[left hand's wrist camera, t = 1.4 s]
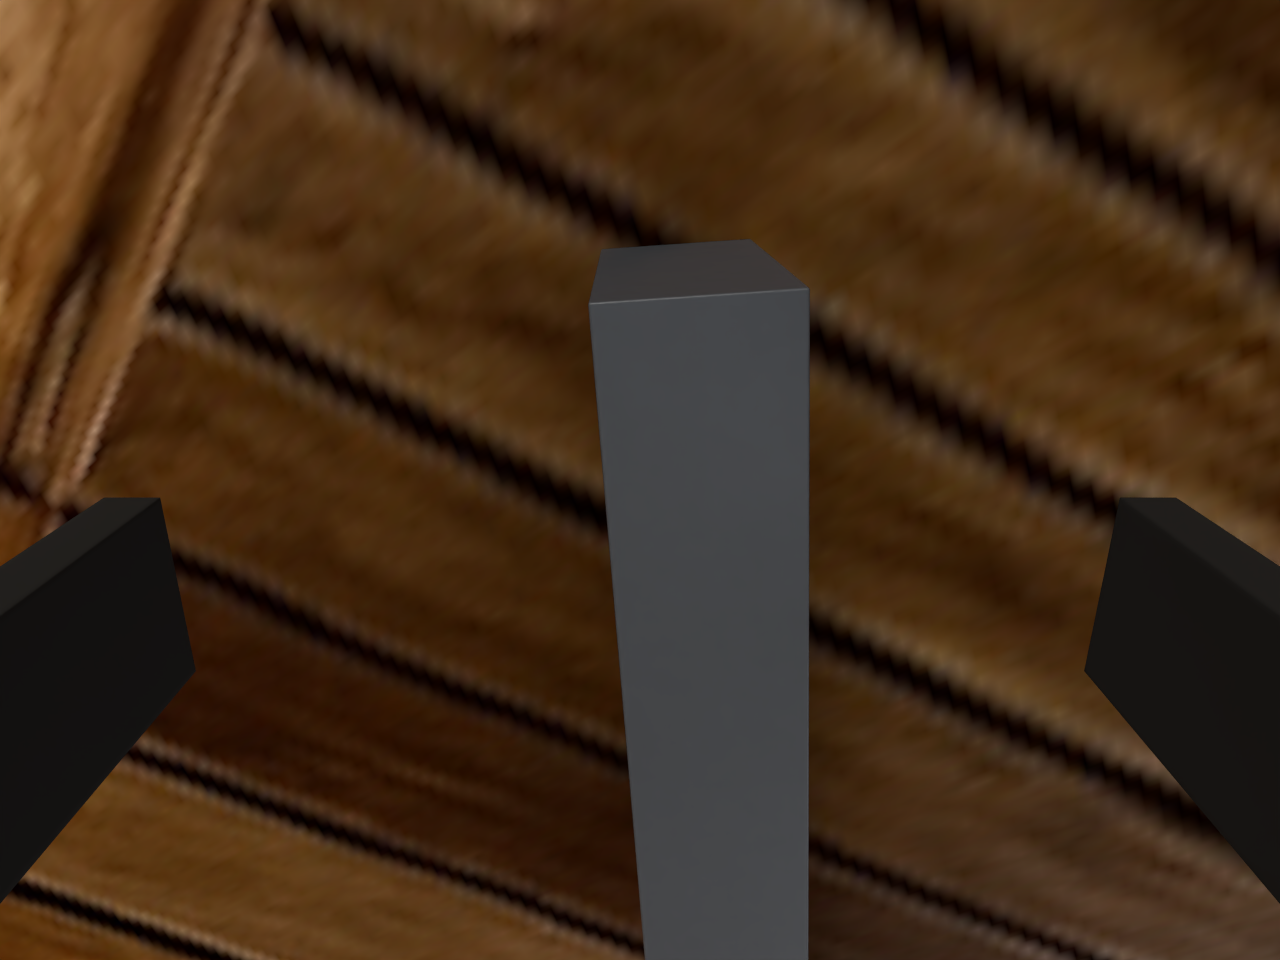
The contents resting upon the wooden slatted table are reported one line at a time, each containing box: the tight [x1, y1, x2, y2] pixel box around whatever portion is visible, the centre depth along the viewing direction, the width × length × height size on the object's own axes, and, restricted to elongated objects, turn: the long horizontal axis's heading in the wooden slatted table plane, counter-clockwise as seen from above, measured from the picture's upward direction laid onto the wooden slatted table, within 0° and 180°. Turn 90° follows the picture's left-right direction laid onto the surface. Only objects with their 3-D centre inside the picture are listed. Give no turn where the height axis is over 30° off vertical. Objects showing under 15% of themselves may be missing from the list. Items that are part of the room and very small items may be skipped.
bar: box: [588, 239, 810, 960], centre depth 26 cm, size 23×4×9 cm, turn 4°
